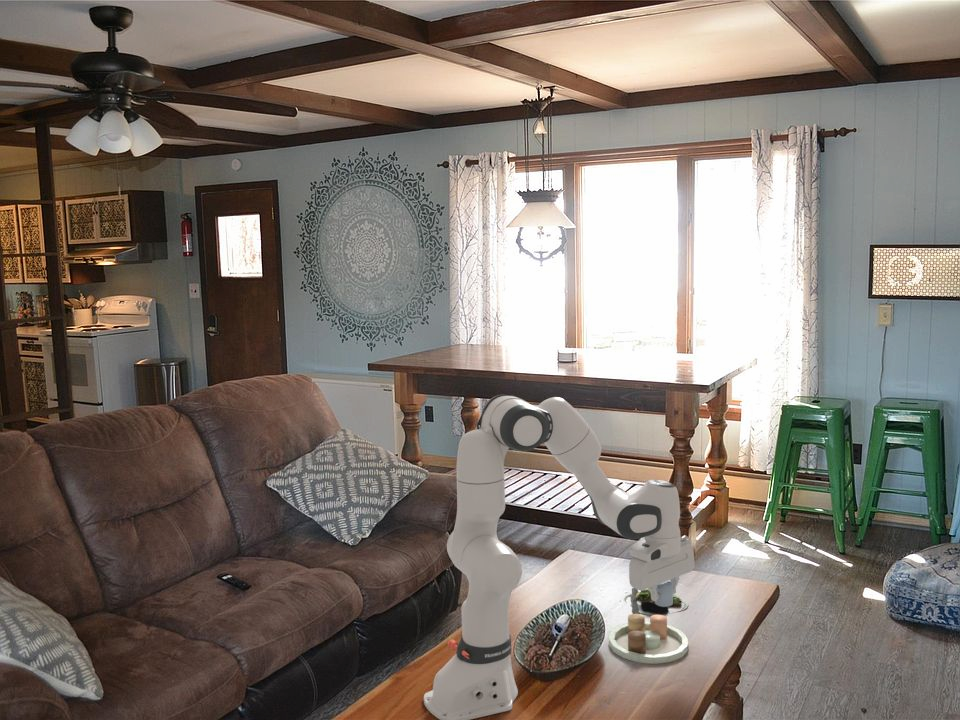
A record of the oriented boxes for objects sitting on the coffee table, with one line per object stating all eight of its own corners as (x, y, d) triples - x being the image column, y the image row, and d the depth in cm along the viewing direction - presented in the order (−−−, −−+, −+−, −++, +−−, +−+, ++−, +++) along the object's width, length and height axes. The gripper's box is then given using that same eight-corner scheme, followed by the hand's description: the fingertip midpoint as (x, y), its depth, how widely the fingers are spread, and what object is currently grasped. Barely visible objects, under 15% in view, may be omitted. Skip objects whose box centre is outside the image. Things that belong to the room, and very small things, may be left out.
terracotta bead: (658, 641, 222) (658, 623, 221) (646, 635, 225) (646, 617, 225) (670, 637, 224) (670, 619, 223) (659, 630, 228) (659, 613, 227)
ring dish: (645, 675, 207) (645, 661, 206) (593, 644, 224) (593, 631, 223) (704, 653, 217) (704, 640, 216) (650, 624, 234) (650, 612, 234)
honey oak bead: (635, 640, 223) (635, 622, 222) (624, 634, 226) (624, 616, 226) (648, 636, 225) (648, 618, 224) (637, 630, 229) (637, 612, 228)
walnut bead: (640, 658, 213) (640, 640, 212) (625, 654, 216) (624, 635, 215) (648, 652, 216) (648, 633, 216) (633, 647, 219) (633, 629, 218)
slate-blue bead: (651, 602, 213) (650, 583, 212) (663, 597, 215) (662, 579, 214) (664, 608, 209) (664, 589, 208) (676, 603, 212) (676, 584, 211)
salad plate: (609, 597, 254) (608, 583, 253) (662, 588, 259) (662, 574, 258) (639, 624, 235) (639, 608, 235) (696, 614, 241) (696, 598, 240)
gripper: (681, 530, 219) (681, 581, 220) (624, 550, 207) (625, 604, 209) (700, 536, 213) (701, 589, 215) (643, 557, 202) (644, 612, 204)
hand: (663, 596), depth 212 cm, fingers closed on slate-blue bead, 4 cm apart
